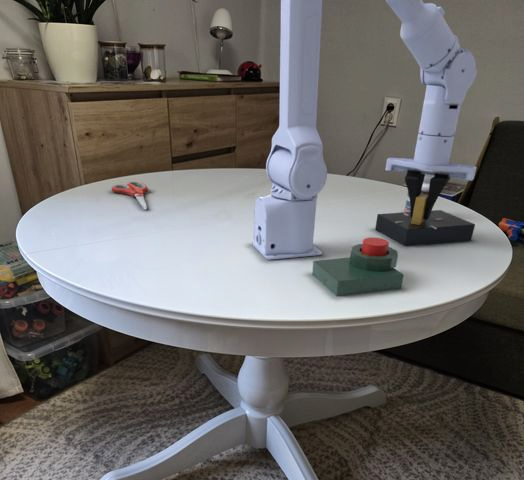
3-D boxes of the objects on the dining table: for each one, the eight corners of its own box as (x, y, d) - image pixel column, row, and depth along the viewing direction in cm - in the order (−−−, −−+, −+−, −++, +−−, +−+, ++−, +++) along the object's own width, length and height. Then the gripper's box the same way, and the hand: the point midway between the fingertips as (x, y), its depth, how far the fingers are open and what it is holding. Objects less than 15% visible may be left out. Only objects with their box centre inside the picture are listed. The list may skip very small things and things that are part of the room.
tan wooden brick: (420, 225, 84) (425, 197, 82) (411, 223, 85) (416, 196, 82) (427, 218, 88) (432, 191, 86) (418, 216, 89) (423, 190, 87)
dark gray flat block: (407, 248, 83) (410, 230, 81) (375, 229, 91) (377, 213, 90) (474, 242, 87) (478, 224, 85) (437, 225, 96) (440, 209, 94)
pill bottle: (398, 213, 103) (406, 169, 98) (419, 211, 104) (427, 168, 100) (413, 220, 98) (422, 174, 94) (434, 218, 100) (444, 173, 95)
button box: (336, 296, 64) (339, 268, 62) (311, 274, 71) (313, 247, 69) (408, 288, 68) (414, 260, 66) (378, 267, 74) (382, 242, 72)
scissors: (144, 210, 98) (143, 203, 97) (108, 190, 113) (107, 183, 112) (178, 206, 102) (177, 199, 101) (139, 186, 117) (138, 180, 116)
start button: (369, 258, 67) (371, 246, 66) (356, 250, 70) (358, 238, 69) (391, 256, 68) (393, 244, 67) (378, 248, 71) (380, 236, 70)
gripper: (486, 135, 79) (465, 218, 86) (398, 128, 85) (386, 206, 92) (480, 140, 74) (459, 227, 81) (387, 132, 80) (375, 214, 87)
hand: (419, 217), depth 86 cm, fingers closed on tan wooden brick, 2 cm apart
